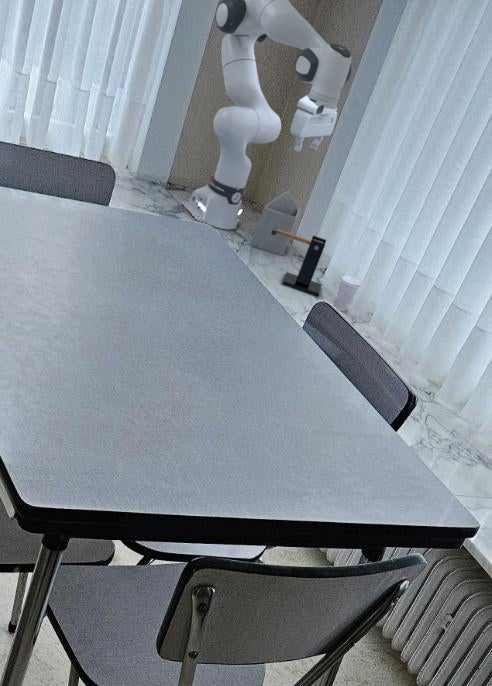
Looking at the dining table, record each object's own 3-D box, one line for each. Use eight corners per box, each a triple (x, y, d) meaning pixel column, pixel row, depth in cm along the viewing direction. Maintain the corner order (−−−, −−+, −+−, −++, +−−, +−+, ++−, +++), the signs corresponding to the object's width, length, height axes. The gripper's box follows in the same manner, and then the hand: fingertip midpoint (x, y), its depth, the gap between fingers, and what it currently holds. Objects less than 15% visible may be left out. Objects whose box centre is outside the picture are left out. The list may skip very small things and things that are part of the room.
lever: (270, 235, 313) (272, 228, 311) (272, 230, 317) (274, 223, 316) (319, 252, 312) (322, 245, 311) (320, 247, 316) (323, 240, 315)
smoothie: (349, 315, 312) (366, 274, 304) (329, 308, 312) (346, 267, 304) (349, 307, 317) (366, 267, 309) (330, 301, 317) (346, 260, 309)
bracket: (282, 284, 318) (299, 237, 309) (285, 275, 325) (302, 229, 316) (317, 296, 317) (336, 250, 308) (320, 287, 325) (338, 241, 316)
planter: (264, 255, 335) (284, 199, 324) (250, 244, 340) (269, 189, 329) (299, 255, 345) (319, 201, 334) (285, 245, 349) (304, 191, 338)
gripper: (329, 99, 307) (313, 144, 314) (295, 100, 292) (279, 147, 300) (346, 107, 304) (330, 152, 312) (313, 108, 289) (296, 155, 297)
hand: (305, 150), depth 306 cm, fingers open, 8 cm apart
